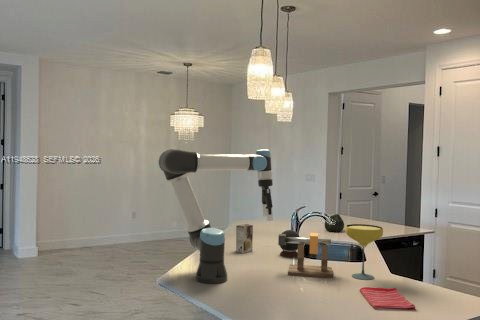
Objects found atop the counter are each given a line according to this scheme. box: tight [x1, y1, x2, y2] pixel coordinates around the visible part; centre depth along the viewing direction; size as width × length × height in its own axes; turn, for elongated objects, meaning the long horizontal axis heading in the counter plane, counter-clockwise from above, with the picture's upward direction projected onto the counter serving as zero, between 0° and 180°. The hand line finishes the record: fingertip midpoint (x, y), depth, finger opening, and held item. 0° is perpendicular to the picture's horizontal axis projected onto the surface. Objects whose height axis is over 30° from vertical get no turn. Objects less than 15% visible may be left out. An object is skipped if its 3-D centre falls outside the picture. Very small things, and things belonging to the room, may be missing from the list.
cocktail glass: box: [345, 223, 384, 281], centre depth 222 cm, size 18×18×25 cm
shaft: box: [277, 233, 332, 246], centre depth 229 cm, size 4×26×5 cm, turn 80°
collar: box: [309, 232, 319, 255], centre depth 228 cm, size 9×4×9 cm, turn 170°
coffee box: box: [235, 223, 254, 254], centre depth 275 cm, size 9×6×16 cm
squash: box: [324, 213, 345, 233], centre depth 355 cm, size 14×15×15 cm
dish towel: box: [359, 286, 417, 312], centre depth 187 cm, size 17×24×3 cm
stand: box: [287, 244, 334, 279], centre depth 229 cm, size 16×22×14 cm
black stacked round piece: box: [279, 229, 301, 258], centre depth 267 cm, size 13×13×15 cm
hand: (268, 218), depth 237 cm, fingers open, 13 cm apart
